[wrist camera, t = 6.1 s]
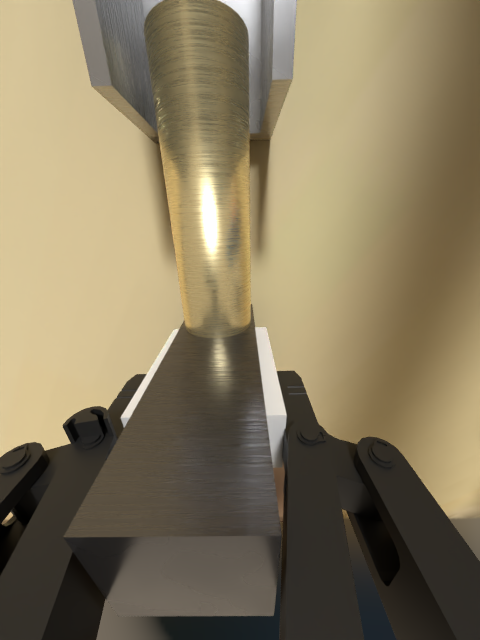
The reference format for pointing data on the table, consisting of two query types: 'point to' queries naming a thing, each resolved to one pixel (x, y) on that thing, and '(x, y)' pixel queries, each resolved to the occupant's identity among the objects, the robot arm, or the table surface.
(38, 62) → the table surface
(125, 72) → the aluminum u-channel
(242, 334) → the hammer
